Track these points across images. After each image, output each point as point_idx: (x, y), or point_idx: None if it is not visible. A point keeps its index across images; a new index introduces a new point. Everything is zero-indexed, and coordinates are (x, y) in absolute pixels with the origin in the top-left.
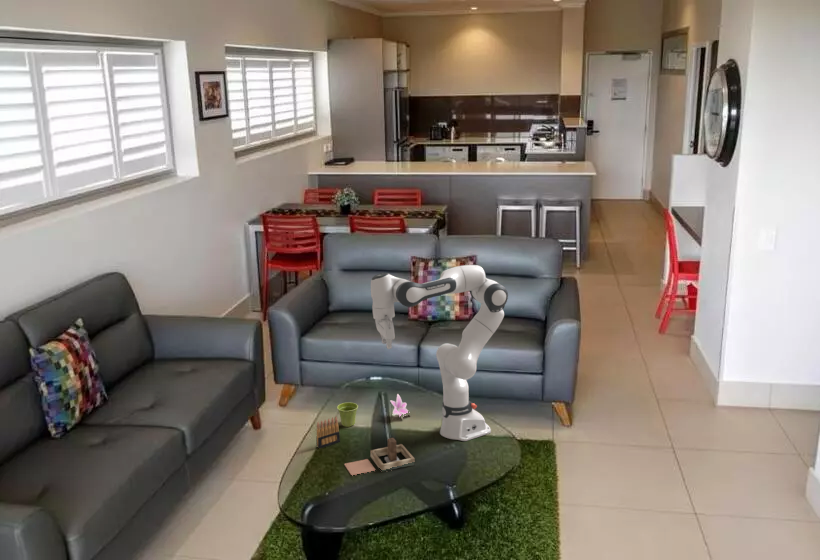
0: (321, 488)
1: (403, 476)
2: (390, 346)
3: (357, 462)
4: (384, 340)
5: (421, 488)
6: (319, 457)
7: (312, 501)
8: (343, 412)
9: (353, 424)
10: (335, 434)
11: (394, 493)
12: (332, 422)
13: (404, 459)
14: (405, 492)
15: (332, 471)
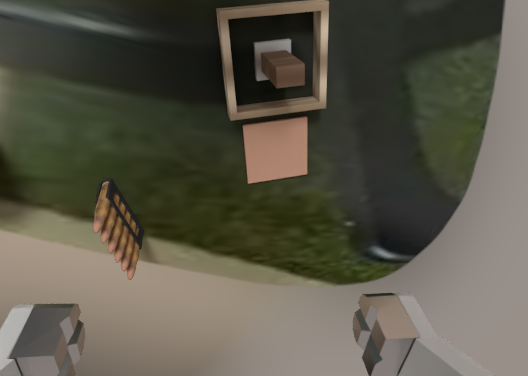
0: (327, 232)
1: (361, 52)
2: (418, 323)
3: (253, 153)
4: (61, 365)
5: (435, 23)
6: (191, 230)
7: (363, 247)
8: None
9: None
10: (115, 204)
11: (419, 95)
12: (110, 233)
13: (321, 35)
14: (429, 69)
15: (268, 208)
